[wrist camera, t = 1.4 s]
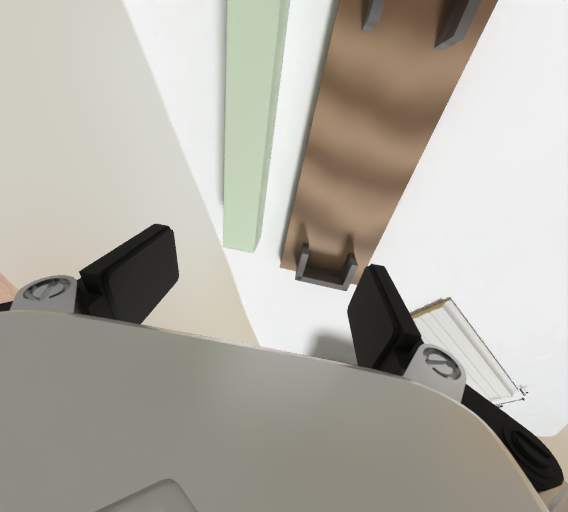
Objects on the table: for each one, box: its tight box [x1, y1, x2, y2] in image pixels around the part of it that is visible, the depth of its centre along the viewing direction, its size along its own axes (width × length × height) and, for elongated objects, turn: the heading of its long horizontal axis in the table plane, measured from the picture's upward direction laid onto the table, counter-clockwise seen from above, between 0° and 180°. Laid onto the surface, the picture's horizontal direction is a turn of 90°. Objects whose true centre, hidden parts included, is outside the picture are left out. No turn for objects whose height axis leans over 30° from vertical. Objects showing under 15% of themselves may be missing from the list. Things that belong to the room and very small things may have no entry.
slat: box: [223, 0, 290, 253], centre depth 23 cm, size 26×4×5 cm, turn 170°
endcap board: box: [280, 0, 498, 291], centre depth 23 cm, size 31×12×4 cm, turn 169°
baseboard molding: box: [411, 299, 528, 408], centre depth 40 cm, size 31×3×12 cm
